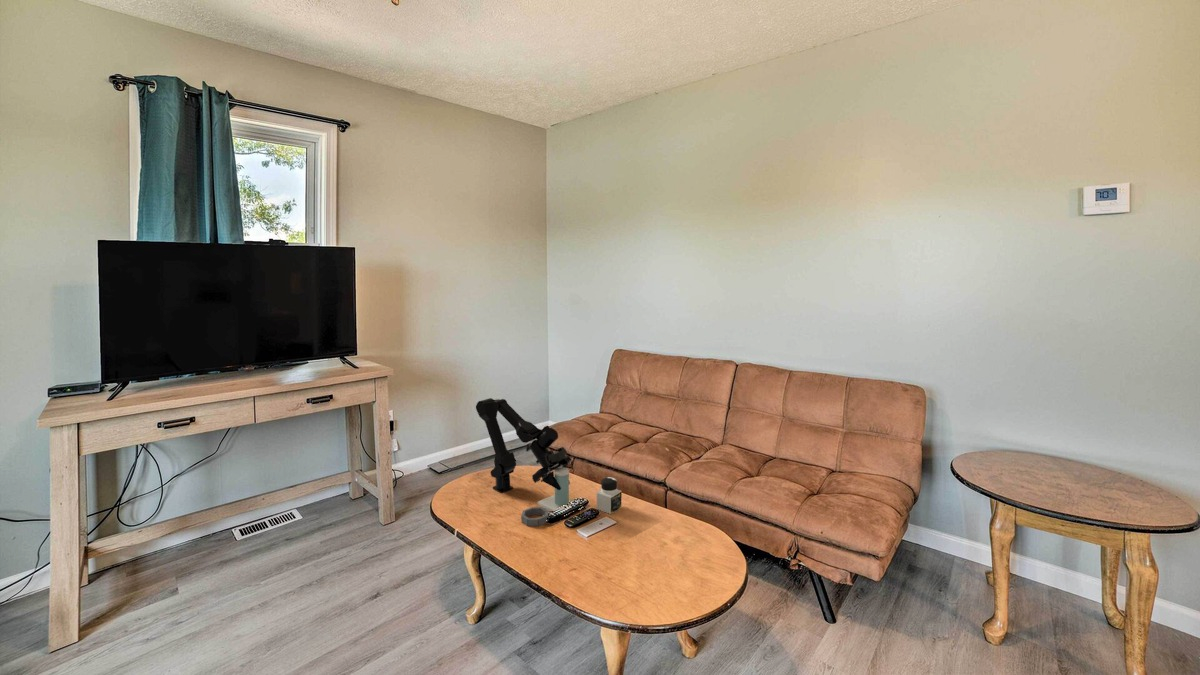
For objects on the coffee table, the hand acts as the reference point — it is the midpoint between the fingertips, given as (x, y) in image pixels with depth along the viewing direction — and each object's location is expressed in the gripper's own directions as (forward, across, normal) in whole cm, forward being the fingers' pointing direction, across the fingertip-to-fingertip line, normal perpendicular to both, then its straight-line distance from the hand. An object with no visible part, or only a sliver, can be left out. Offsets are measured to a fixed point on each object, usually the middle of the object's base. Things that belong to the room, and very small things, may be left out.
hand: (564, 486), depth 189 cm
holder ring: (+3, -13, +9) cm, 16 cm away
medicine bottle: (+17, +10, -4) cm, 20 cm away
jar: (+4, 0, +6) cm, 7 cm away
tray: (+5, 0, +8) cm, 9 cm away
